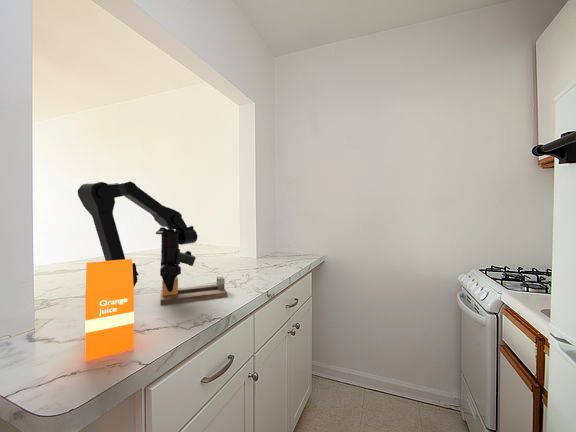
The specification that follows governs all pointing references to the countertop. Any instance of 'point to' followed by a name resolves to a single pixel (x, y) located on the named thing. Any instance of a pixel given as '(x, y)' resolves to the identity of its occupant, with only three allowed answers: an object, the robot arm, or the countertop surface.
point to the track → (196, 293)
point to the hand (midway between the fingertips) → (170, 289)
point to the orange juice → (109, 308)
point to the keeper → (174, 290)
